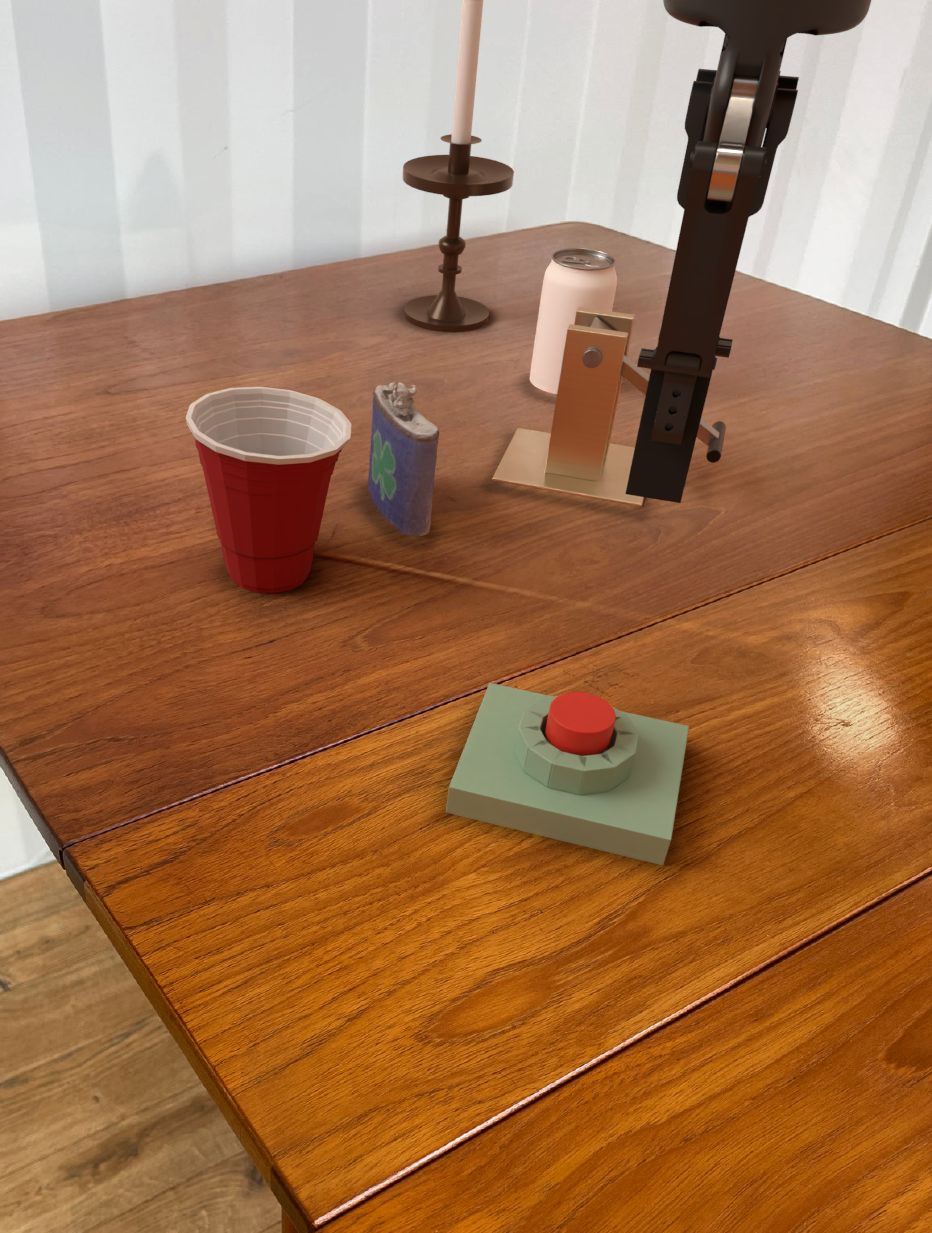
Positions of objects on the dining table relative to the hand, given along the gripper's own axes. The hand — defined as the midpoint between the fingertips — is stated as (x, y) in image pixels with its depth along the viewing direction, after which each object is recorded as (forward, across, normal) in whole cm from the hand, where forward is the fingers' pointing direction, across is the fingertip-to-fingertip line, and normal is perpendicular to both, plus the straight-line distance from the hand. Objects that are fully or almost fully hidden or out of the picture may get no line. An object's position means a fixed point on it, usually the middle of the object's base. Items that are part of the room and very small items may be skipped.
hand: (654, 491), depth 56 cm
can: (+17, -51, -11) cm, 55 cm away
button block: (+17, +4, -1) cm, 17 cm away
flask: (+17, -22, -19) cm, 34 cm away
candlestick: (+17, -65, -26) cm, 72 cm away
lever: (+10, -34, -3) cm, 36 cm away
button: (+13, +4, -1) cm, 14 cm away
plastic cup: (+17, -11, -25) cm, 32 cm away
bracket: (+17, -34, -7) cm, 39 cm away
